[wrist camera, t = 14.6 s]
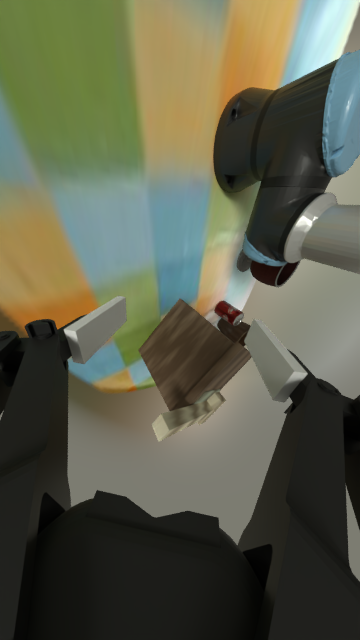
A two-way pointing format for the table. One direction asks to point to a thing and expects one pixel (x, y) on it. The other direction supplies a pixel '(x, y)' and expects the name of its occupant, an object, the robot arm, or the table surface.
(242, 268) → the mate gourd
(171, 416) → the cream flat bar
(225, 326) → the plant pot
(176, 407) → the wooden block with lid
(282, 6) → the table surface
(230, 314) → the soda can
